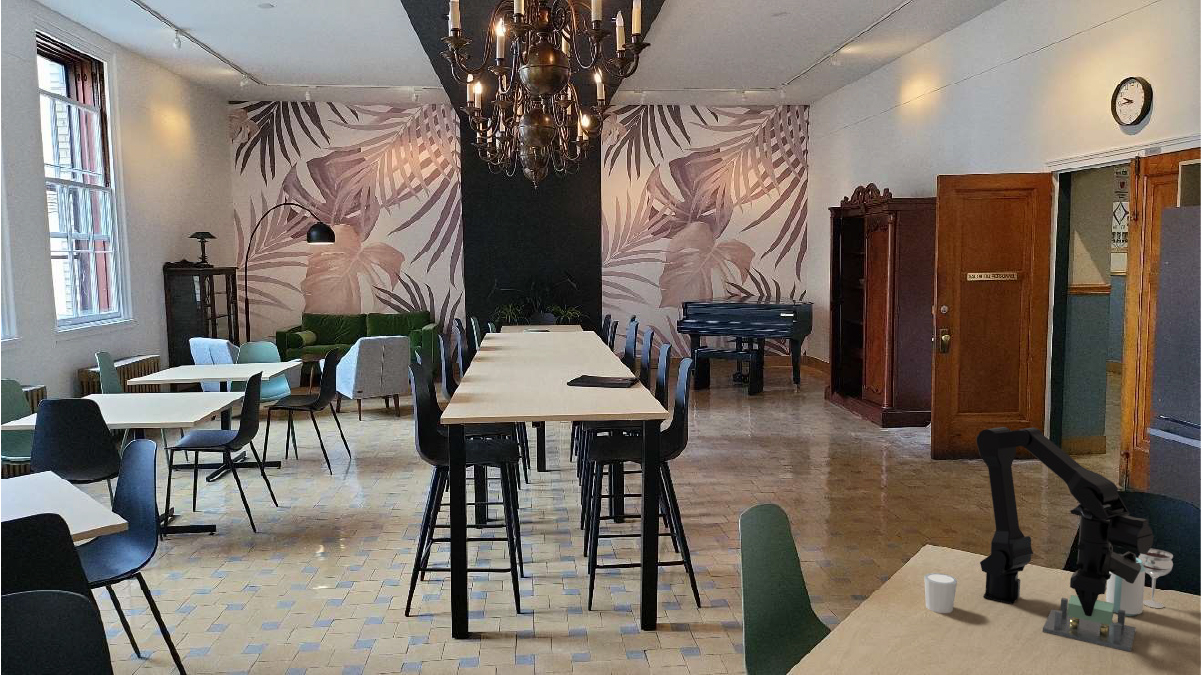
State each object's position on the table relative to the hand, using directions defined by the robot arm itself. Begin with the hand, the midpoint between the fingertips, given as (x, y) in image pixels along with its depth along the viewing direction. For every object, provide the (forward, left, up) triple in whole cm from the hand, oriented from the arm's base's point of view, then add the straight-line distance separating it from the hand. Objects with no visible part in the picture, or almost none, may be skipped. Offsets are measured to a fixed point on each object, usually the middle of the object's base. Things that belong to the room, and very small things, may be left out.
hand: (1090, 611), depth 185 cm
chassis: (0, 0, -4) cm, 4 cm away
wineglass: (+10, +25, -5) cm, 27 cm away
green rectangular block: (0, 0, -1) cm, 1 cm away
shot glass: (-29, -6, -5) cm, 30 cm away
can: (+5, +17, -5) cm, 18 cm away
